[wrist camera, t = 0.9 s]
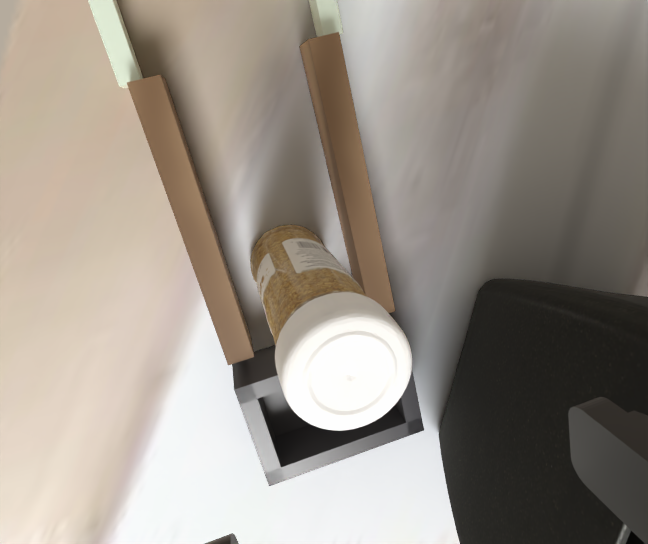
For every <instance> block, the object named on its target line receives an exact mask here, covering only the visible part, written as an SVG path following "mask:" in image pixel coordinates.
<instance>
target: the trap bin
mask: <svg viewBox="0 0 648 544" xmlns="http://www.w3.org/2000/svg"><path fill="white" fill-rule="evenodd" d="M404 334H405V333H404ZM275 349H276V345H274V346H271V347H268V348H265V349H262V350H259V351H256V352H254V357H252V358H249V359H246V360H243V361H240V362H237V363H234V364H232V366H233V378H234V390H235V393H236V395H237V398H238V401H239V404H240V407H241V409H242V412H243V415H244V418H245V420H246V423H247V426H248V429H249V431H250V434H251V437H252V440H253V442H254V445H255V448H256V451H257V453H258V456H259V459H260V462H261V464H262V467H263V470H264V473H265V476H266V478H267V481H268V484H269V486H271V485H274V484H277V483H279V482H282V481H285V480H288V479H290V478H293V477H296V476H299V475H301V474H304V473H307V472H310V471H312V470H315V469H318V468H321V467H323V466H326V465H329V464H332V463H335V462H337V461H340V460H343V459H346V458H348V457H351V456H354V455H357V454H359V453H362V452H365V451H368V450H370V449H373V448H376V447H379V446H381V445H384V444H387V443H390V442H393V441H395V440H398V439H401V438H404V437H406V436H409V435H412V434H415V433H417V432H420V431H423V430H424V428H423V423H422V418H421V413H420V408H419V402H418V397H417V392H416V387H415V382H414V377H413V372H412V371H411V376H410V379H409V382H408V385H407V387H406V389H405V391H404V393H403V395H402V396H401V398H400V399H399V400H398V402H397V403H396V404H395V405H394V406H393V407H392V408H391V409H390V410H389V411H388V412H387V413H386V414H385V415H383V416H382V417H381V418H379V419H377V420H375V421H374V422H372V423H369V424H367V425H365V426H362V427H359V428H355V429H350V430H342V431H338V430H327V429H323V428H319V427H316V426H313V425H311V424H309V423H308V422H306V421H304V420H303V419H302V418H300V417H299V416H298V415H297V414H296V413H295V412H294V411H293V410H292V409H291V407H290V406H289V404H288V402H287V401H286V398H285V396H284V393H283V390H282V387H281V384H280V381H279V378H278V374H277V370H276V364H275Z"/></svg>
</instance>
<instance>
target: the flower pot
mask: <svg viewBox="0 0 648 544" xmlns="http://www.w3.org/2000/svg"><path fill="white" fill-rule="evenodd" d="M598 397H604V398H607V399H609V400H610V401H612V402H613V403H615V404H616V405H617V406H619V407H620V408H622V409H623V410H624V411H626V412H627V413H629V412H631V411H637V412H639V413H642V414H645V415H647V416H648V297H643V296H634V295H624V294H616V293H608V292H602V291H595V290H589V289H583V288H577V287H571V286H565V285H558V284H552V283H545V282H538V281H529V280H518V279H493V280H490V281H488V282H486V283H485V284H484V285H483V286H482V288H481V289H480V291H479V292H478V296H477V300H476V304H475V307H474V311H473V314H472V318H471V321H470V325H469V329H468V332H467V336H466V340H465V343H464V347H463V350H462V353H461V357H460V360H459V364H458V367H457V371H456V375H455V378H454V382H453V386H452V389H451V393H450V396H449V400H448V404H447V407H446V411H445V414H444V417H443V421H442V424H441V428H440V432H439V440H440V448H441V455H442V461H443V467H444V473H445V478H446V484H447V489H448V494H449V499H450V503H451V508H452V512H453V517H454V521H455V525H456V530H457V533H458V537H459V541H460V544H645V543H644V542H643V541H642V540H641V539H639V538H638V537H637V536H636V535H635V534H634V533H633V532H632V531H631V530H630V529H629V528H628V527H627V526H626V525H625V524H624V523H623V522H622V521H621V520H620V519H619V518H618V517H617V516H616V515H615V514H614V513H613V512H612V511H611V510H610V509H609V508H608V507H607V506H606V505H605V504H604V503H603V502H602V501H601V500H600V499H599V498H598V497H597V496H596V495H595V494H594V493H593V492H592V491H591V490H590V489H589V488H588V487H587V486H586V485H585V484H584V483H583V482H582V481H581V479H580V478H579V476H578V475H577V473H576V471H575V469H574V467H573V464H572V460H571V451H570V435H569V419H568V413H569V410H570V408H572V407H574V406H577V405H580V404H582V403H585V402H587V401H590V400H593V399H595V398H598Z"/></svg>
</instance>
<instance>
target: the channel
mask: <svg viewBox="0 0 648 544" xmlns="http://www.w3.org/2000/svg"><path fill="white" fill-rule="evenodd" d="M299 47H300V51H301V55H302V60H303V64H304V68H305V73H306V77H307V81H308V86H309V90H310V94H311V98H312V103H313V107H314V111H315V116H316V120H317V124H318V129H319V133H320V137H321V142H322V146H323V150H324V155H325V159H326V163H327V168H328V172H329V176H330V180H331V185H332V189H333V193H334V198H335V202H336V206H337V211H338V215H339V219H340V224H341V228H342V232H343V237H344V241H345V245H346V250H347V254H348V258H349V263H350V267H351V271H352V275H353V278H354V279H355V281H356V282H357V283H358V284H359V285H360V287H361V289H362V290H363V292H364V294H365V295H366V296H367V297H369V298H371V299H372V300H374V301H376V302H377V303H379V304H380V305H381V306H382V307H383V308H384V309H385V310H386V311H387V312H388V313H391V312H394V311H395V307H394V302H393V297H392V292H391V287H390V282H389V277H388V272H387V267H386V262H385V257H384V252H383V248H382V243H381V238H380V233H379V228H378V223H377V218H376V213H375V208H374V203H373V198H372V193H371V188H370V183H369V178H368V173H367V169H366V164H365V159H364V154H363V149H362V144H361V139H360V134H359V129H358V124H357V119H356V114H355V109H354V104H353V99H352V94H351V89H350V85H349V80H348V75H347V70H346V65H345V60H344V55H343V50H342V45H341V40H340V35H339V32H336V33H332V34H328V35H324V36H319V37H315V38H311V39H308V40H307V41H306V42H304V43H303V44H302V45H301V46H299ZM127 85H128V88H129V91H130V93H131V96H132V99H133V102H134V105H135V107H136V110H137V113H138V116H139V118H140V121H141V124H142V127H143V130H144V132H145V135H146V138H147V141H148V143H149V146H150V149H151V152H152V155H153V157H154V160H155V163H156V166H157V169H158V171H159V174H160V177H161V180H162V182H163V185H164V188H165V191H166V194H167V196H168V199H169V202H170V205H171V207H172V210H173V213H174V216H175V219H176V221H177V224H178V227H179V230H180V232H181V235H182V238H183V241H184V244H185V246H186V249H187V252H188V255H189V257H190V260H191V263H192V266H193V269H194V271H195V274H196V277H197V280H198V282H199V285H200V288H201V291H202V294H203V296H204V299H205V302H206V305H207V308H208V310H209V313H210V316H211V319H212V321H213V324H214V327H215V330H216V333H217V335H218V338H219V341H220V344H221V346H222V349H223V352H224V355H225V358H226V360H227V363H228V365H231V364H234V363H237V362H240V361H243V360H246V359H249V358H252V357H254V352H253V346H252V340H251V336H250V333H249V330H248V327H247V324H246V321H245V318H244V315H243V312H242V309H241V306H240V303H239V300H238V297H237V294H236V291H235V288H234V285H233V282H232V279H231V276H230V273H229V270H228V267H227V264H226V261H225V258H224V255H223V252H222V249H221V246H220V243H219V239H218V236H217V233H216V230H215V227H214V224H213V221H212V218H211V215H210V212H209V209H208V206H207V203H206V200H205V197H204V194H203V191H202V188H201V185H200V182H199V179H198V176H197V173H196V170H195V167H194V164H193V161H192V158H191V155H190V152H189V149H188V146H187V143H186V140H185V137H184V134H183V131H182V128H181V125H180V122H179V119H178V116H177V113H176V110H175V107H174V104H173V101H172V98H171V95H170V92H169V89H168V86H167V83H166V80H165V78H164V77H162V76H161V75H156V76H152V77H148V78H144V79H139V80H135V81H131V82H127Z"/></svg>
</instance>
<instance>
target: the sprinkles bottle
mask: <svg viewBox="0 0 648 544" xmlns="http://www.w3.org/2000/svg"><path fill="white" fill-rule="evenodd" d="M251 271H252V275H253V278H254V280H255V281H256V282H257V288H258V292H259V295H260V298H261V301H262V304H263V308H264V311H265V315H266V318H267V322H268V325H269V328H270V330H271V332H272V335H273V338H274V342H275V345H276V349H275V364H276V370H277V374H278V378H279V381H280V384H281V387H282V390H283V393H284V396H285V398H286V401H287V402H288V404H289V406H290V407H291V409H292V410H293V411H294V412H295V413H296V414H297V415H298V416H299V417H300V418H302V419H303V420H304V421H306V422H308V423H309V424H311V425H313V426H316V427H319V428H323V429H327V430H338V431H342V430H350V429H355V428H359V427H362V426H365V425H367V424H369V423H372V422H374V421H375V420H377V419H379V418H381V417H382V416H383V415H385V414H386V413H387V412H388V411H389V410H390V409H391V408H392V407H393V406H394V405H395V404H396V403H397V402H398V400H399V399H400V398H401V396H402V395H403V393H404V391H405V389H406V387H407V385H408V382H409V379H410V376H411V371H412V353H411V348H410V345H409V342H408V340H407V337H406V335H405V334H404V332H403V330H402V329H401V328H400V327H399V325H398V324H397V323H396V322H395V320H394V319H393V318H392V317H391V316H390V314H389V313H388V312H387V311H386V310H385V309H384V308H383V307H382V306H381V305H380V304H379V303H377V302H376V301H374V300H372V299H371V298H369V297H367V296H366V295H365V294H364V292H363V290H362V289H361V287H360V285H359V284H358V283H357V282H356V281H355V279H354V278H353V277H352V276H351V275H350V274H349V273H348V272H347V271H346V270H345V268H344V267H343V266H342V265H341V264H340V263H339V262H338V261H337V259H336V258H335V257H334V256H333V255H332V254H331V253H330V252H329V251H328V250H327V249H326V248H325V247H324V245H323V243H322V242H321V240H320V239H319V238H318V237H317V236H316V235H315V234H314V233H313V232H311V231H310V230H308V229H307V228H304V227H301V226H297V225H284V226H278V227H276V228H274V229H272V230H269V231H267V232H266V233H265V234H264V235H263V236H262V237H261V238H260V239H259V240H258V242H257V243H256V245H255V247H254V249H253V252H252V255H251Z"/></svg>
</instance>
